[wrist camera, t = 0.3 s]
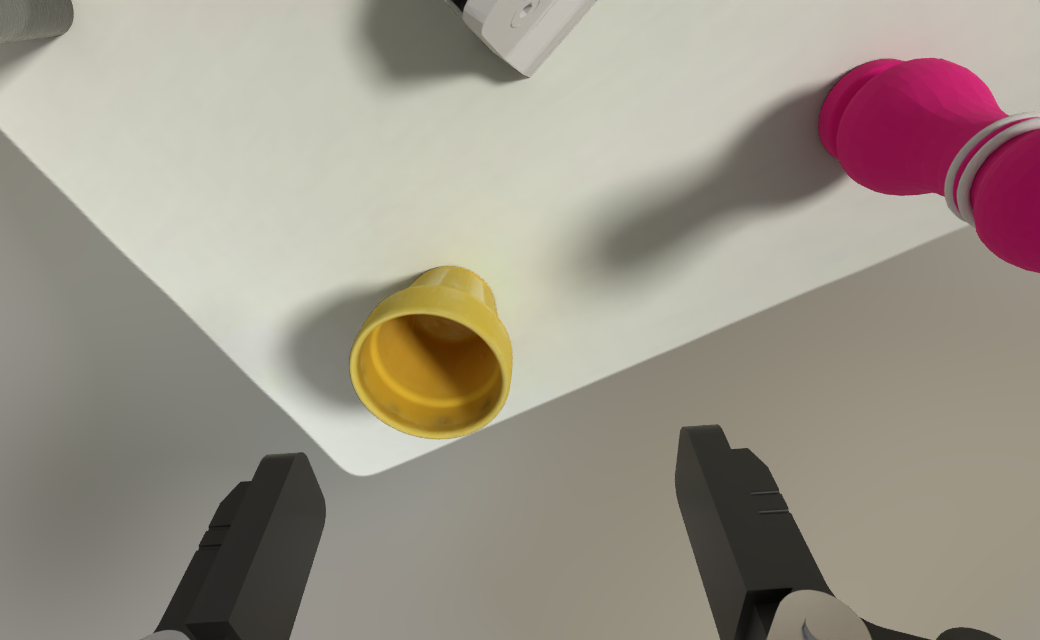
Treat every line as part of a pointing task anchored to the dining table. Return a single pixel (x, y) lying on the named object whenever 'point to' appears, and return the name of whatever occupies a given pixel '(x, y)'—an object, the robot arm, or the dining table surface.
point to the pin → (34, 19)
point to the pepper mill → (941, 147)
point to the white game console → (521, 27)
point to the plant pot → (434, 357)
